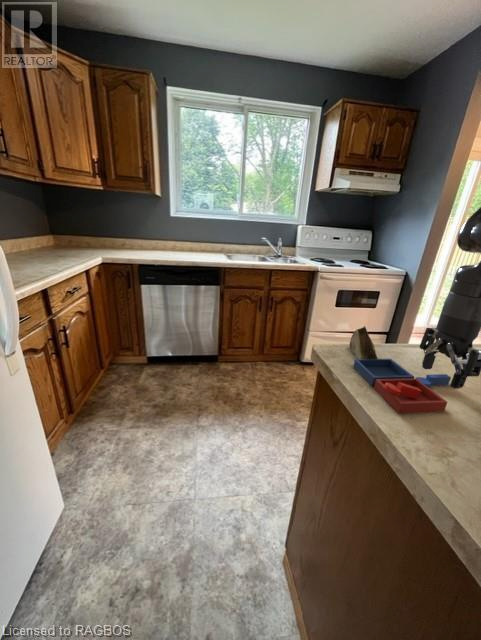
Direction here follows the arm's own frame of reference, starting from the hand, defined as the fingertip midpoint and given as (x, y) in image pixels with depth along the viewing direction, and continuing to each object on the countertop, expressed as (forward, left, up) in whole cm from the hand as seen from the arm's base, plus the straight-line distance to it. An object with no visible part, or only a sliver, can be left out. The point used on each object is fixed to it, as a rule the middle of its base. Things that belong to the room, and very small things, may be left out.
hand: (439, 377), depth 65 cm
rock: (+12, -14, -2) cm, 18 cm away
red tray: (+12, +5, -2) cm, 14 cm away
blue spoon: (+2, 0, -2) cm, 2 cm away
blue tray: (+12, -4, -2) cm, 13 cm away
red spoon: (+14, +5, 0) cm, 15 cm away
